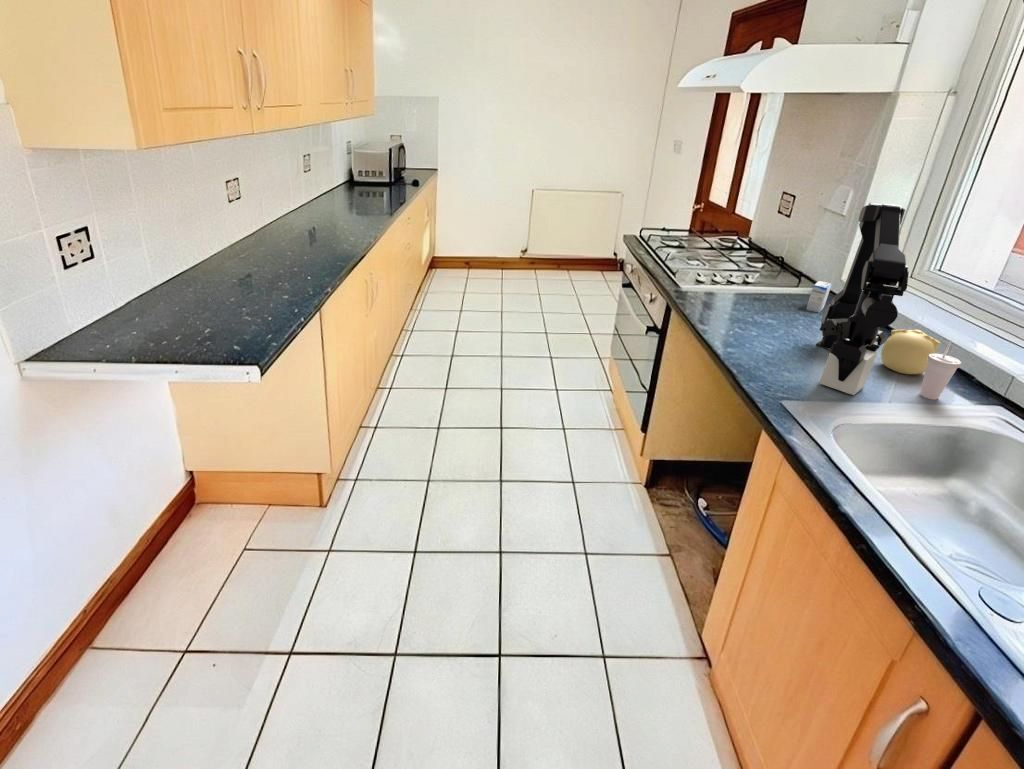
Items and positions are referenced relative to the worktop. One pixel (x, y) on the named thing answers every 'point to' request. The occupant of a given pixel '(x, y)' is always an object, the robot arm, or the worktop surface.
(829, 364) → the chalk-white cube
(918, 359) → the pale yellow rounded lump
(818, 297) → the medicine box
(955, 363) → the smoothie
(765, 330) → the worktop surface
